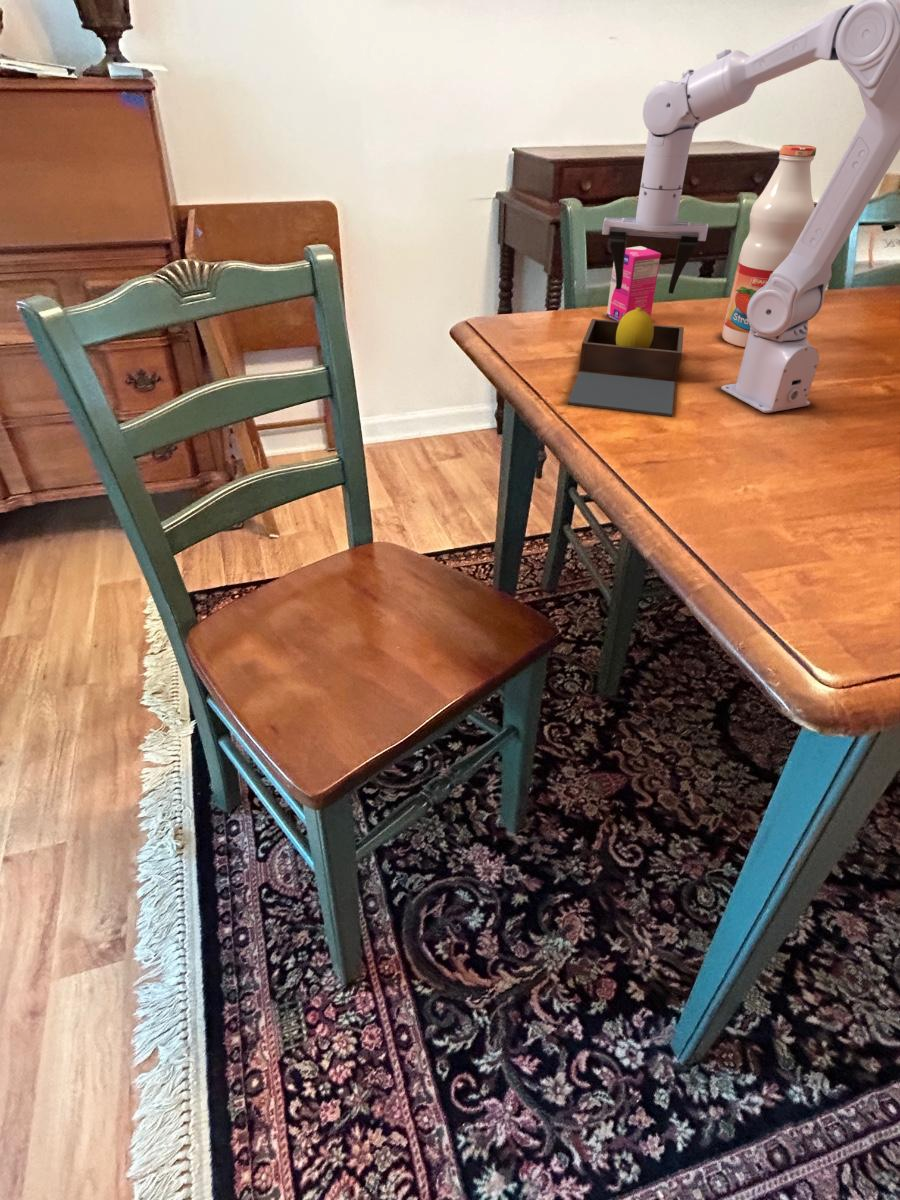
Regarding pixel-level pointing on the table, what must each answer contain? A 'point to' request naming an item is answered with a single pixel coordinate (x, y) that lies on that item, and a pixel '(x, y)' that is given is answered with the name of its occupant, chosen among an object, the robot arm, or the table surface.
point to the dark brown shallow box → (631, 353)
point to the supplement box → (634, 283)
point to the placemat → (623, 393)
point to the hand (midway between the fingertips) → (644, 289)
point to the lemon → (635, 329)
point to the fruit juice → (770, 234)
